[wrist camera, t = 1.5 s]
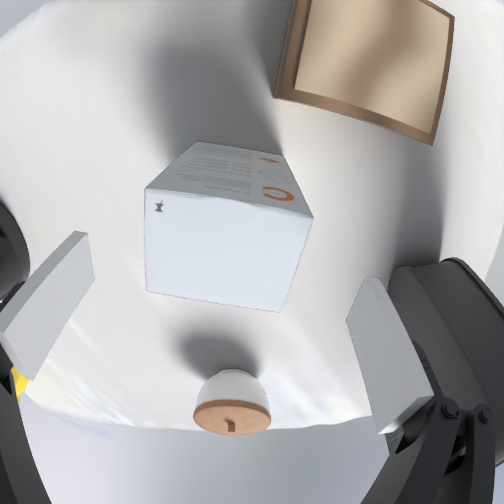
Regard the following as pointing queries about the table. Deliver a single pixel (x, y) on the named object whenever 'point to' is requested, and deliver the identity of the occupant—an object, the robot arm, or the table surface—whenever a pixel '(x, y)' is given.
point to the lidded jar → (232, 404)
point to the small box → (225, 227)
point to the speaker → (455, 335)
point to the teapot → (19, 382)
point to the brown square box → (369, 61)
